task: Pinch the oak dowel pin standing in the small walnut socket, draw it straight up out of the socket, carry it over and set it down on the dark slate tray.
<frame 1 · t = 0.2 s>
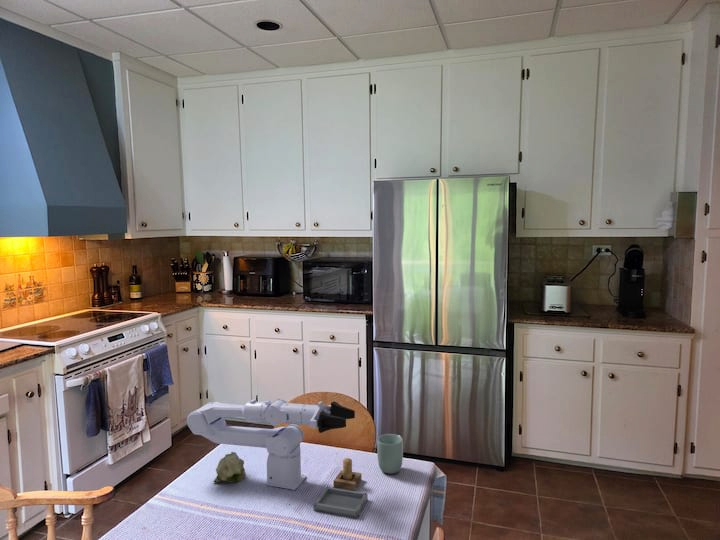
hand: (350, 418, 134), 21 cm above the table, tool horizontal, fingers open, 7 cm apart
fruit: (231, 479, 143), on the table
cup: (390, 471, 147), on the table
tray: (341, 505, 129), on the table
pin: (347, 472, 140), in the socket
socket: (347, 483, 140), on the table
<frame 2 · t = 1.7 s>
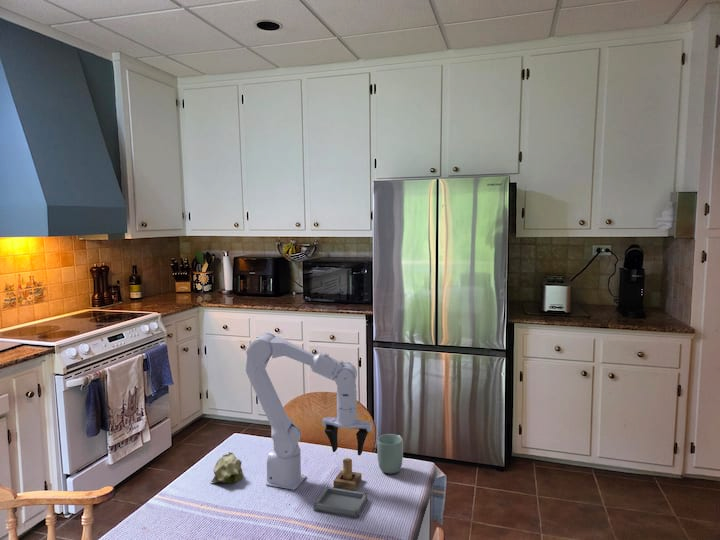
hand: (347, 452, 139), 9 cm above the table, tool pointing down, fingers open, 7 cm apart
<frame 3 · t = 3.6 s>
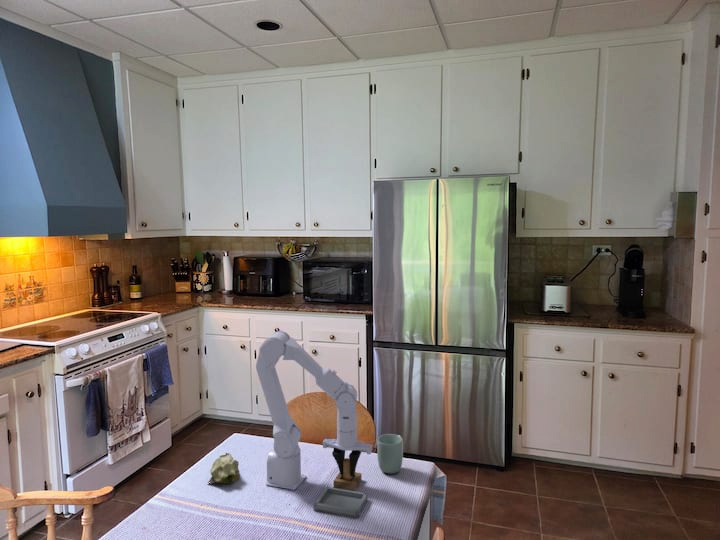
hand: (347, 473, 140), 3 cm above the table, tool pointing down, fingers closed on pin, 3 cm apart
pin: (347, 471, 140), in the socket, touching gripper
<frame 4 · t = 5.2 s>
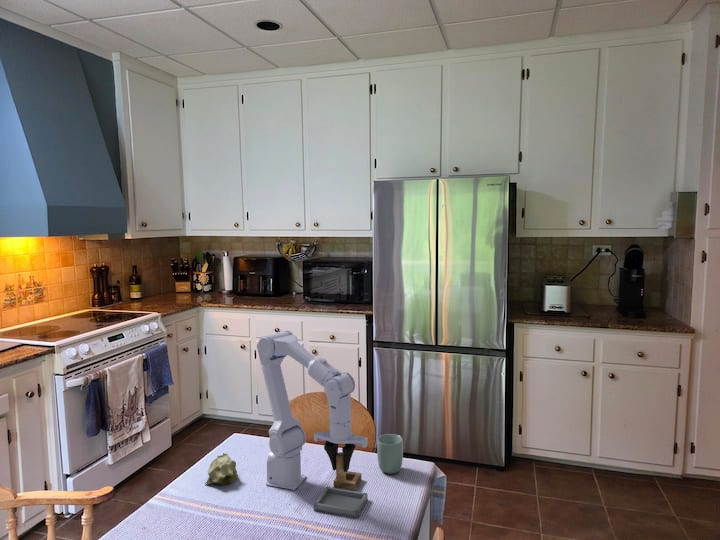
hand: (340, 469, 128), 10 cm above the table, tool pointing down, fingers closed on pin, 3 cm apart
pin: (340, 467, 128), point 10 cm above the table, touching gripper
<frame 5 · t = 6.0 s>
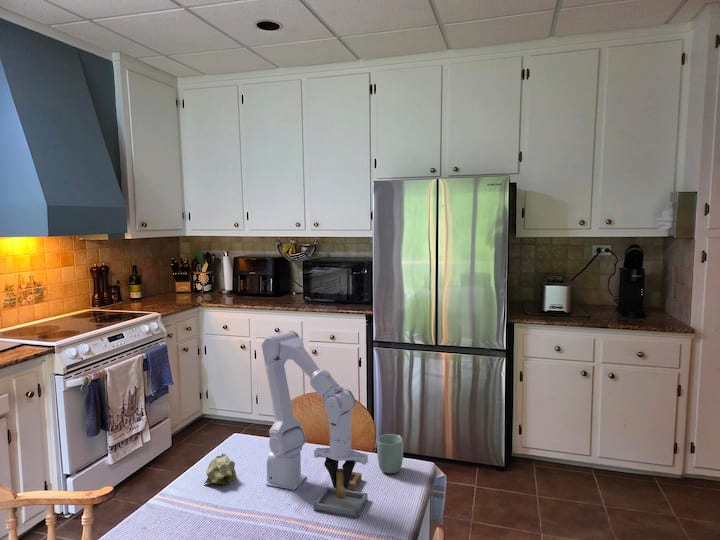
hand: (341, 485, 128), 5 cm above the table, tool pointing down, fingers closed on pin, 3 cm apart
pin: (341, 483, 128), point 6 cm above the table, touching gripper
when the fingers open (5 cm above the table, at t = 6.8 s): pin drops 1 cm, resting on tray.
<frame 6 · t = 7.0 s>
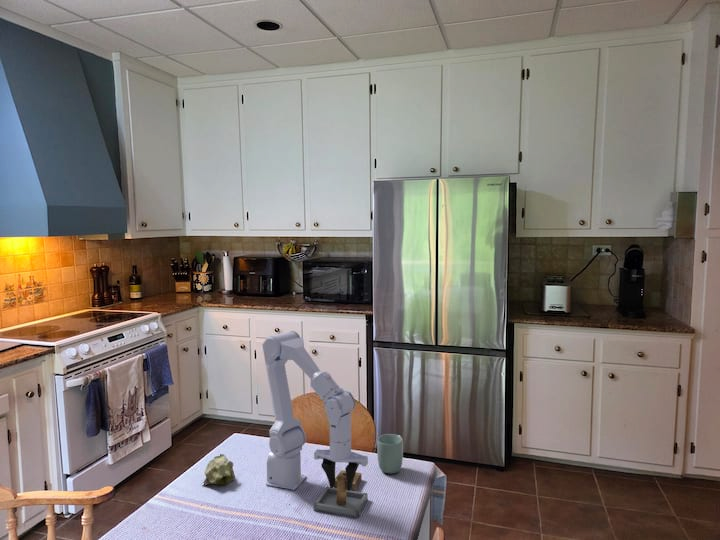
hand: (341, 487, 128), 5 cm above the table, tool pointing down, fingers open, 4 cm apart
pin: (341, 490, 129), in the tray, point 4 cm above the table
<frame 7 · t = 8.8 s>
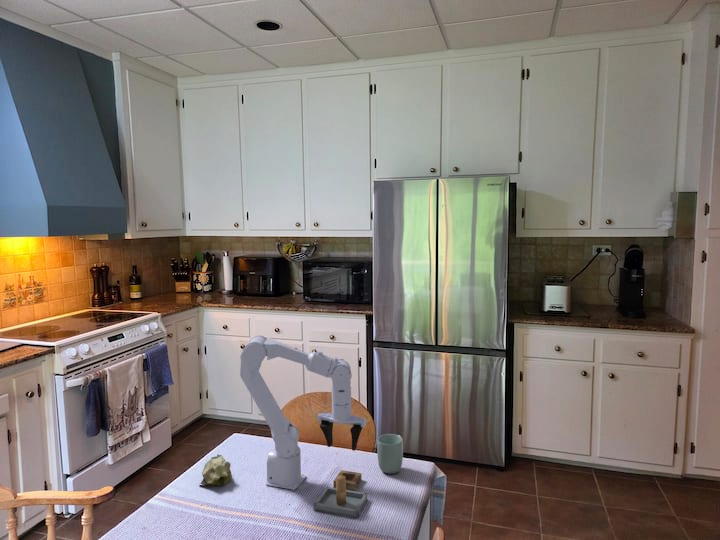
hand: (342, 447, 141), 10 cm above the table, tool pointing down, fingers open, 7 cm apart
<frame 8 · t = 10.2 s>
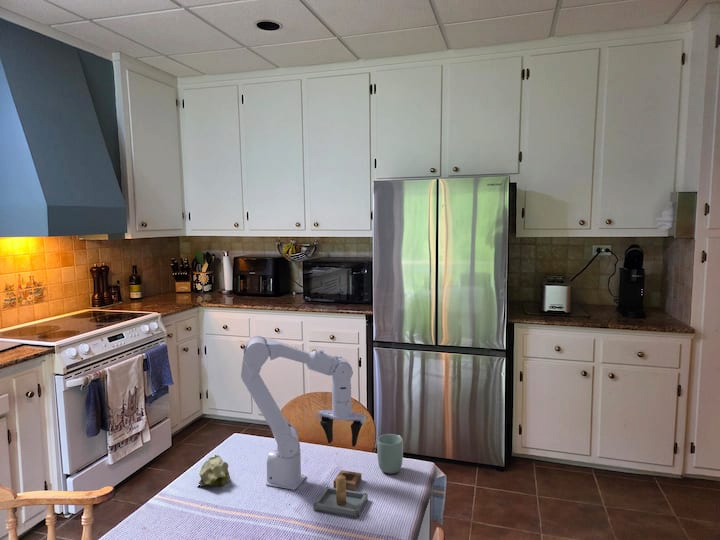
hand: (342, 443, 144), 10 cm above the table, tool pointing down, fingers open, 7 cm apart
at the end: pin inside the target area on the tray (0.1 cm from its centre), point 4.1 cm above the tray's base; the gripper is holding nothing; pin touching tray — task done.
